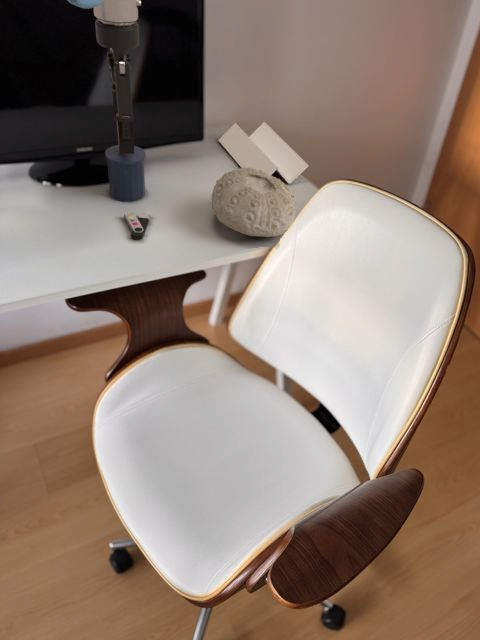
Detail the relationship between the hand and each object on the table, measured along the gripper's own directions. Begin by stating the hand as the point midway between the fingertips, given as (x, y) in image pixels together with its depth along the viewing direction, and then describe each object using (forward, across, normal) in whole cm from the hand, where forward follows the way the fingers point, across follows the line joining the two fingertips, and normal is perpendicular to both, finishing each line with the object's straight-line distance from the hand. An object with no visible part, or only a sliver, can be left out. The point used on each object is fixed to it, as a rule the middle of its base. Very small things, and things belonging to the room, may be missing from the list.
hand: (124, 138), depth 111 cm
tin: (+12, 0, 0) cm, 12 cm away
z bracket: (+12, +15, -36) cm, 41 cm away
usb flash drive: (+12, -14, 0) cm, 19 cm away
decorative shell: (+12, -14, -24) cm, 30 cm away
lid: (+4, 0, 0) cm, 4 cm away
